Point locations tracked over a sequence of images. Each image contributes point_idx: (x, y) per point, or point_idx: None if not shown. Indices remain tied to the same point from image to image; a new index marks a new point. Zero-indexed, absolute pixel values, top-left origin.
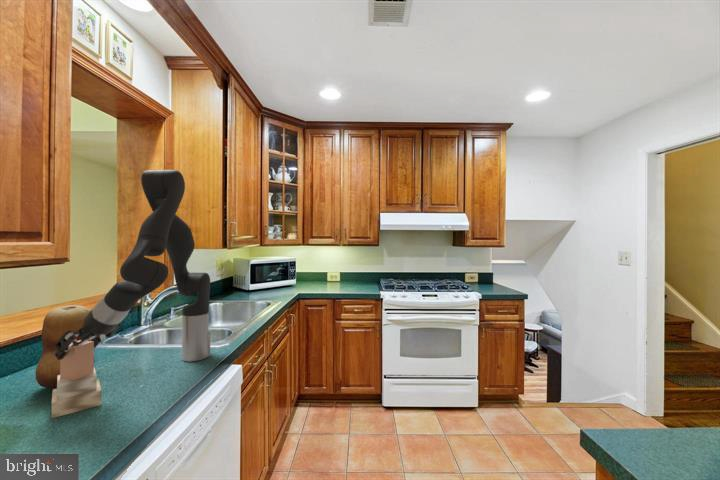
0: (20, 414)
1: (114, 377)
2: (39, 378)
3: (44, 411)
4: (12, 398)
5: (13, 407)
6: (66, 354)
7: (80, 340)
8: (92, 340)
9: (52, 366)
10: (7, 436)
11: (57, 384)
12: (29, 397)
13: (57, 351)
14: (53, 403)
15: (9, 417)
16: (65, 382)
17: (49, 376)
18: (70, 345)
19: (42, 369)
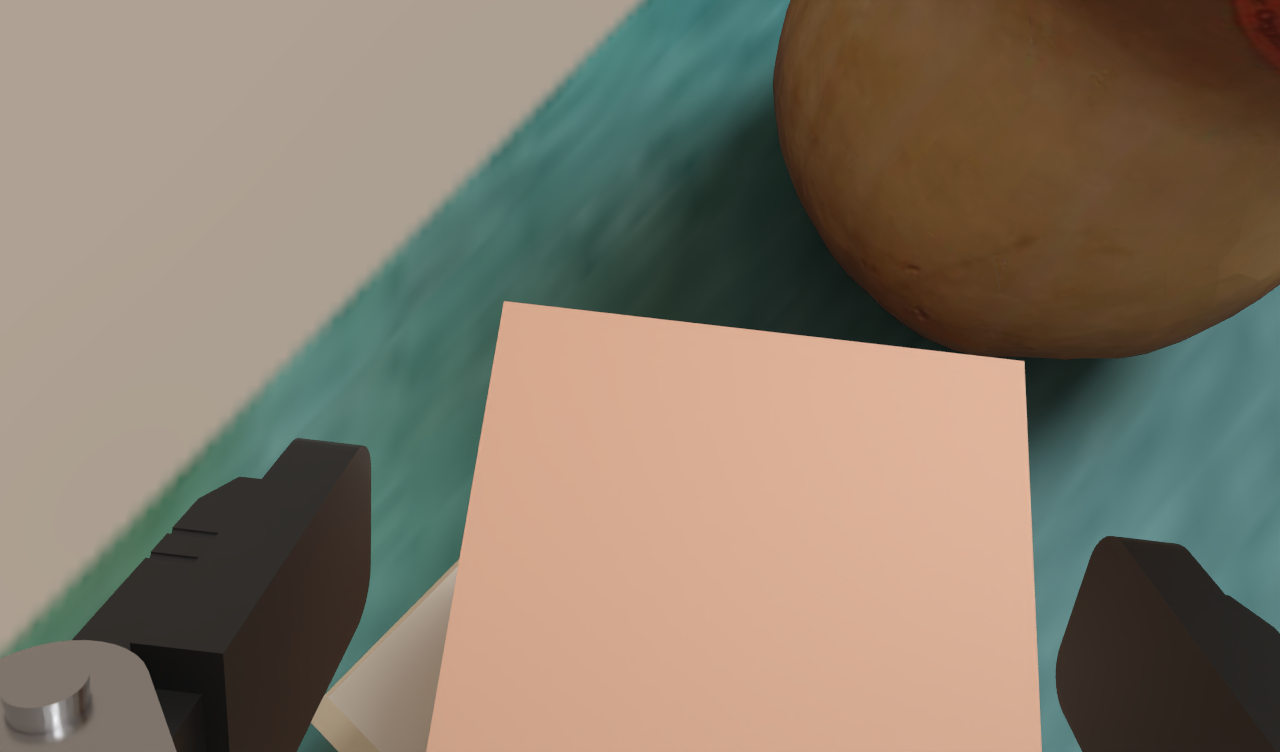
0: (423, 339)
1: (1276, 537)
2: (776, 59)
3: None
4: (679, 7)
5: (537, 161)
6: (295, 745)
7: (1013, 405)
8: (1183, 680)
9: (843, 86)
10: (41, 620)
11: (345, 686)
12: (713, 116)
13: (135, 587)
14: (322, 726)
15: (371, 299)
16: (418, 743)
17: (792, 147)
18: (560, 551)
19: (803, 12)
